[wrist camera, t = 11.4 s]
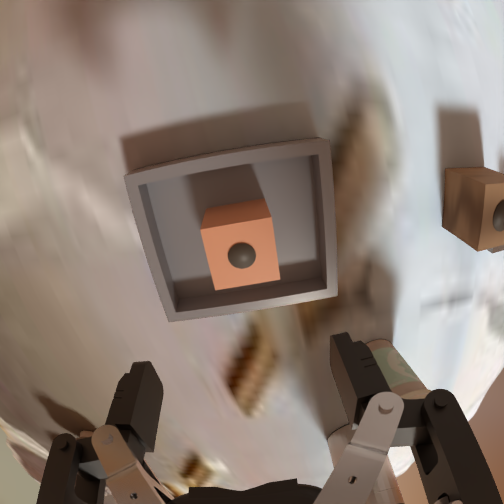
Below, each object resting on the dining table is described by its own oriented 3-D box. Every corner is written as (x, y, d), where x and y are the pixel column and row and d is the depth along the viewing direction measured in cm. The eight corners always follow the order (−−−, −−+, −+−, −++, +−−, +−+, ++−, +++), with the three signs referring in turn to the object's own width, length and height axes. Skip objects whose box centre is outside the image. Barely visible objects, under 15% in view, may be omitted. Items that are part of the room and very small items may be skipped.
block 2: (479, 219, 28) (515, 242, 22) (441, 226, 28) (478, 252, 22) (483, 166, 26) (523, 182, 20) (444, 168, 26) (486, 184, 20)
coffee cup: (403, 360, 37) (438, 424, 26) (348, 385, 38) (373, 455, 27) (398, 319, 33) (443, 390, 22) (335, 348, 34) (365, 428, 24)
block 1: (264, 198, 25) (271, 217, 21) (272, 251, 27) (280, 280, 23) (206, 208, 25) (200, 230, 21) (217, 260, 28) (215, 290, 23)
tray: (329, 279, 30) (337, 295, 27) (173, 304, 30) (168, 322, 28) (319, 137, 24) (329, 140, 21) (134, 169, 24) (123, 176, 22)
